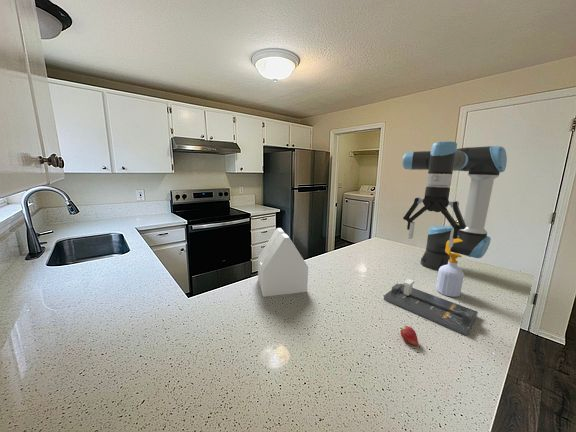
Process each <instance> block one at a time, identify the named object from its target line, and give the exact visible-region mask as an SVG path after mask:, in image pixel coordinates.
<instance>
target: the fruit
mask: <svg viewBox="0 0 576 432" xmlns="http://www.w3.org/2000/svg"><path fill="white" fill-rule="evenodd" d="M400 337H401V338H402V340H403V341H405V343H408V344H410V345H414V346H415V347H416V346H418V345H420V344H419V340H418V336H417V333H416V331H415V330H414V329H413V327H411V326H408V325H406V323H405V324H404V326H403V327H401V328H400Z"/></svg>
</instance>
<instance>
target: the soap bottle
mask: <svg viewBox="0 0 576 432" xmlns="http://www.w3.org/2000/svg"><path fill="white" fill-rule="evenodd" d="M459 242H463V240H461V239H459V238H457V239H454V241H453V244H454V243H459ZM448 246H449V240H448V241H447V242H446V248H445V252H446V253H447V254H448V255H450V258H451V259H449V260H448V264H447V265H443V266H441V267H440V268H439V271H438V270H437V272H438V273H437V279H436V283H435V284H436V286H435V290H436V291H437V292H438V294H439V293H440V294H441V295H444V296H447V297H451V298H458V297H460V296H461V292H462V287H463V282H464V278H465V277H464V276H465V274H464V272H463V270H462V269H461V268H460V267H458V260H457V259H458V258H462V257H463V256H462V254H458V253H454V252H451V248H449V247H448Z"/></svg>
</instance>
